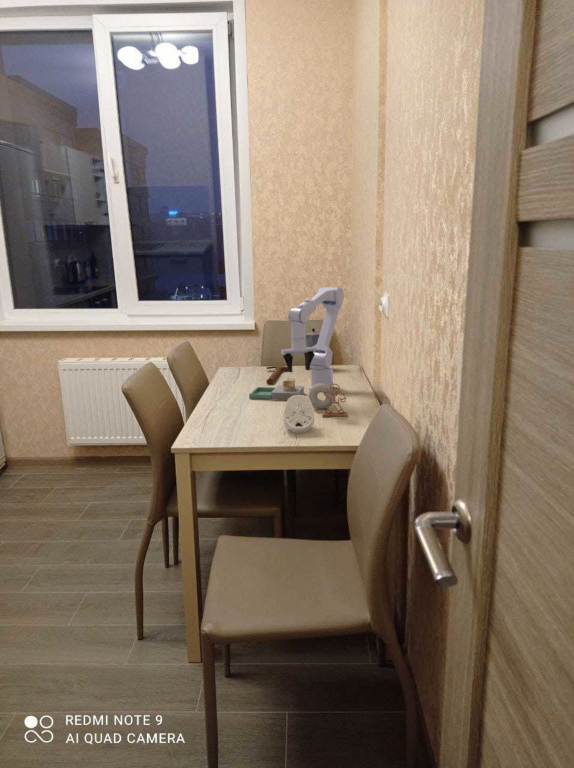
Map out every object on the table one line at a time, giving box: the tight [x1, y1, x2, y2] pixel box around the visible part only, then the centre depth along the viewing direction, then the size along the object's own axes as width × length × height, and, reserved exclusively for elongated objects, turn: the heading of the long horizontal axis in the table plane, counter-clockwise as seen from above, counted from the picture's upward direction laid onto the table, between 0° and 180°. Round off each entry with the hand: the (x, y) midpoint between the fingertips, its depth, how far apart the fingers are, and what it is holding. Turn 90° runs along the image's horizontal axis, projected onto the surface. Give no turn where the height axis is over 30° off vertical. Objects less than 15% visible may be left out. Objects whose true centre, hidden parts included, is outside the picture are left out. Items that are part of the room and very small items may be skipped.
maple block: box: [282, 378, 296, 391], centre depth 229 cm, size 4×4×4 cm
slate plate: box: [271, 384, 305, 401], centre depth 230 cm, size 11×12×3 cm
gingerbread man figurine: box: [321, 383, 348, 418], centre depth 202 cm, size 9×4×12 cm, turn 84°
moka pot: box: [306, 328, 333, 370], centre depth 281 cm, size 10×15×20 cm, turn 82°
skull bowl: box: [282, 394, 316, 434], centre depth 190 cm, size 10×14×12 cm
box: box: [248, 386, 277, 401], centre depth 233 cm, size 9×12×2 cm
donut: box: [308, 383, 334, 410], centre depth 211 cm, size 10×4×10 cm, turn 78°
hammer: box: [266, 365, 289, 386], centre depth 265 cm, size 12×3×30 cm
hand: (298, 370), depth 229 cm, fingers open, 7 cm apart
